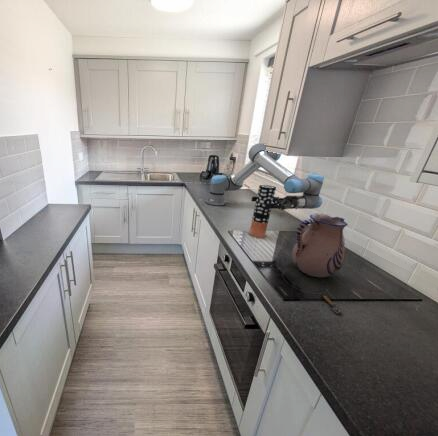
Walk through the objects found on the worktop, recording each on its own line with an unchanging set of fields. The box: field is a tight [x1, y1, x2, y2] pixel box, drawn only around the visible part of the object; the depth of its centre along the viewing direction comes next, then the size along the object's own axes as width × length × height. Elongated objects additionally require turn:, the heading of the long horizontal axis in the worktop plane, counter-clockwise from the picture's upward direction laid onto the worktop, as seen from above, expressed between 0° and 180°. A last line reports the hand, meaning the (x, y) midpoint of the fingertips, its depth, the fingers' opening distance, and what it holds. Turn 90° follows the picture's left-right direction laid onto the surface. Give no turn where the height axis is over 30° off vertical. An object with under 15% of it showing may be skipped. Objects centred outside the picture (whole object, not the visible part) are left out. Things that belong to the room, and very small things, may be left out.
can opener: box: [322, 294, 342, 315], centre depth 80 cm, size 9×2×1 cm, turn 170°
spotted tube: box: [252, 184, 277, 224], centre depth 129 cm, size 8×8×20 cm
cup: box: [249, 218, 269, 239], centre depth 135 cm, size 8×8×9 cm
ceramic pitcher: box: [291, 212, 348, 278], centre depth 95 cm, size 18×21×25 cm
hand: (258, 202), depth 129 cm, fingers open, 13 cm apart
